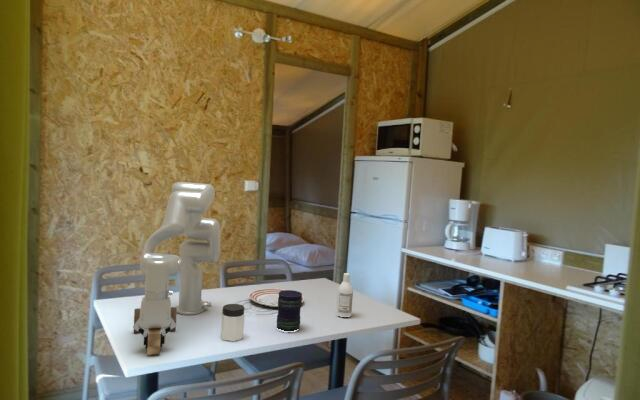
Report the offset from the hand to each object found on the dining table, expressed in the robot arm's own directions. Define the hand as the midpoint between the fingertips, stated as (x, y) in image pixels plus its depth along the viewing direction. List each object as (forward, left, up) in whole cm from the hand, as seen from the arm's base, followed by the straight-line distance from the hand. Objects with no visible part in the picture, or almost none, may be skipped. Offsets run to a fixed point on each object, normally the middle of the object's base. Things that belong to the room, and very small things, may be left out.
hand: (154, 345), depth 152 cm
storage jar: (-52, -14, -2) cm, 54 cm away
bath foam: (-82, -26, -2) cm, 86 cm away
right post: (-6, -18, -2) cm, 19 cm away
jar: (-28, -8, -2) cm, 29 cm away
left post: (+6, -18, -2) cm, 19 cm away
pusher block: (0, 0, -1) cm, 1 cm away
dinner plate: (-56, -51, -2) cm, 76 cm away
